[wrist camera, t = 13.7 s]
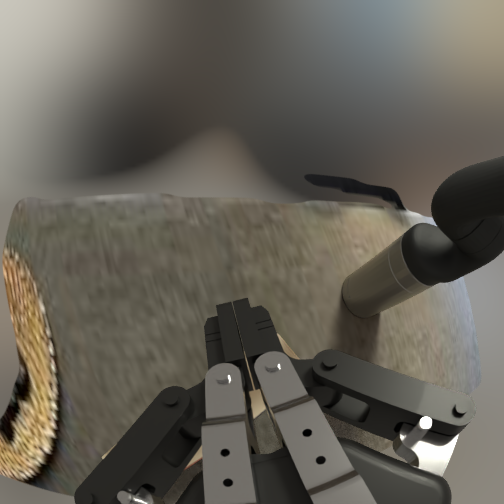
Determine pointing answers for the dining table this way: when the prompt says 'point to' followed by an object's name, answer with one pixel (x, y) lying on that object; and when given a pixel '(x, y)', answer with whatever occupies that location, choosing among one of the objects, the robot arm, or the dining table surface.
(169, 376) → the dining table surface
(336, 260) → the dining table surface
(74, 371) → the dining table surface
